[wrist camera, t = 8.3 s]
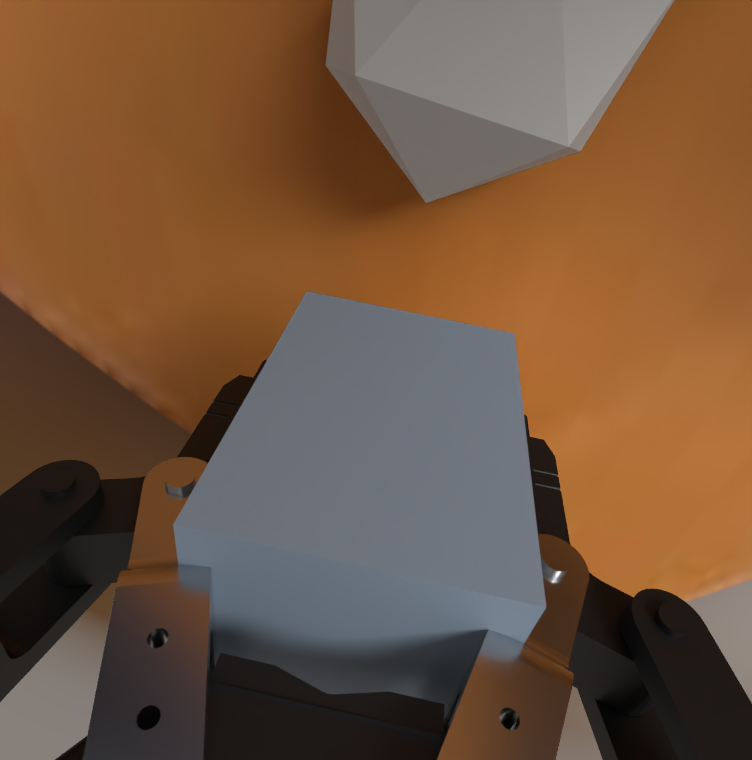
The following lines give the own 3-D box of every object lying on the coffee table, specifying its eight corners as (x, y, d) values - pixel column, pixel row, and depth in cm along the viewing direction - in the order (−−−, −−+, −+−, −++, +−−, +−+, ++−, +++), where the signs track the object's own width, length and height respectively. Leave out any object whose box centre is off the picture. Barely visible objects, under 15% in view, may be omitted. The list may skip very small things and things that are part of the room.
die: (529, 217, 21) (663, -101, 16) (587, 286, 13) (878, -286, 9) (322, 149, 21) (401, -198, 16) (255, 179, 13) (372, -487, 8)
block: (306, 291, 13) (172, 524, 7) (514, 333, 13) (546, 607, 7) (295, 443, 16) (194, 692, 10) (462, 479, 16) (456, 753, 10)
